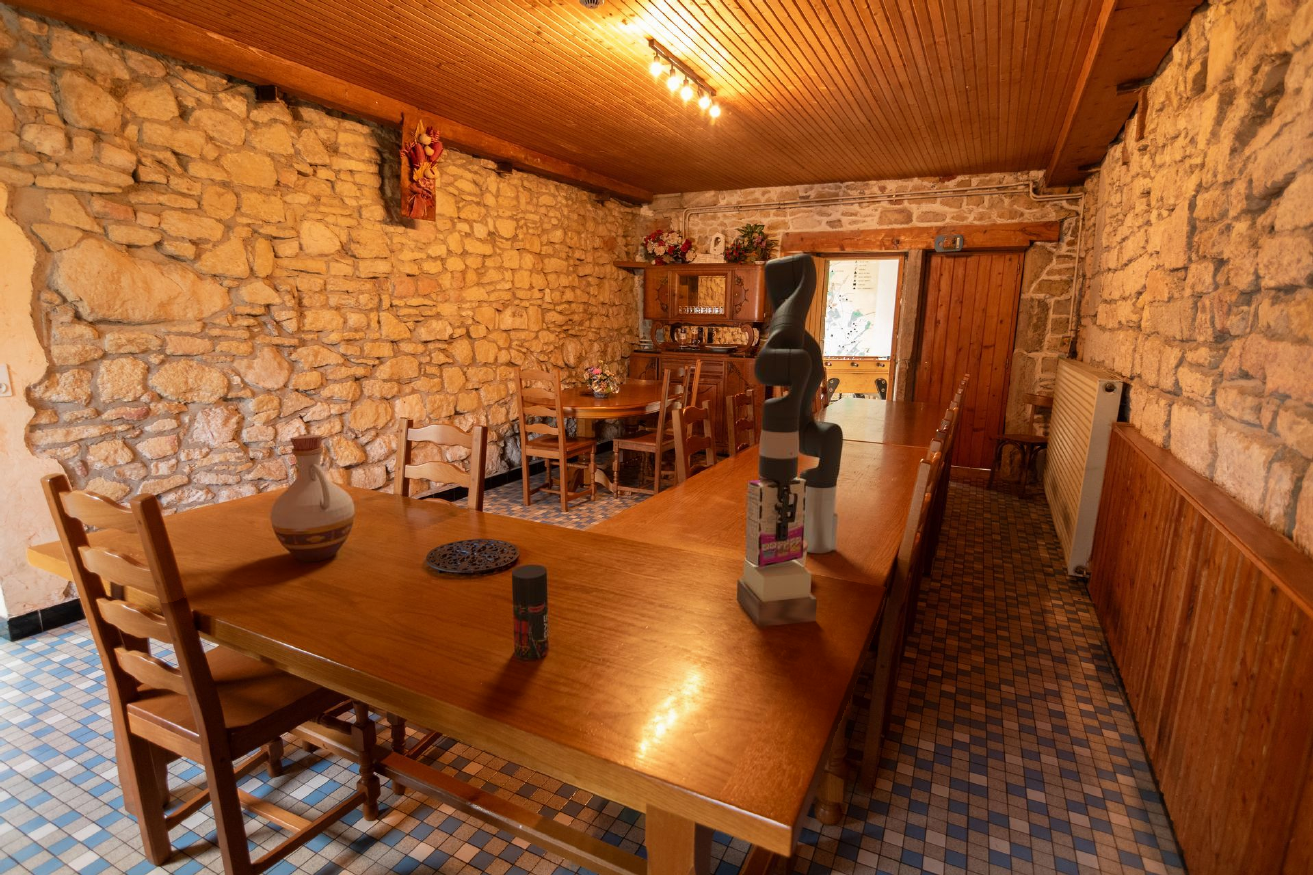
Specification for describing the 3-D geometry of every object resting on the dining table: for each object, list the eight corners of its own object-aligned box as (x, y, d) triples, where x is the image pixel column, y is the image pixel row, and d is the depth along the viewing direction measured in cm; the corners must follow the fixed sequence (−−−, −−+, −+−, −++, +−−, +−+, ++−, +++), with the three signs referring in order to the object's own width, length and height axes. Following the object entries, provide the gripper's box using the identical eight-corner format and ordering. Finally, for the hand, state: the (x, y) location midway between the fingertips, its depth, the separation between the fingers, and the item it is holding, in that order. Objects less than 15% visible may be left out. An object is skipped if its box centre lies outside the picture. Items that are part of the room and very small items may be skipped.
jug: (372, 557, 150) (363, 436, 145) (291, 578, 137) (278, 447, 132) (341, 537, 163) (332, 426, 158) (265, 555, 150) (251, 435, 145)
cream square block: (787, 576, 130) (788, 554, 129) (810, 596, 121) (811, 572, 120) (743, 580, 128) (744, 558, 127) (762, 601, 118) (764, 577, 117)
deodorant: (516, 643, 111) (514, 564, 108) (550, 642, 111) (548, 564, 109) (512, 661, 105) (509, 578, 102) (547, 659, 105) (545, 577, 103)
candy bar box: (787, 550, 128) (791, 474, 125) (803, 558, 124) (808, 479, 120) (743, 559, 123) (746, 479, 120) (758, 568, 118) (761, 486, 115)
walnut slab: (789, 596, 132) (790, 574, 131) (815, 622, 121) (817, 598, 120) (736, 601, 130) (737, 579, 129) (758, 628, 118) (759, 604, 117)
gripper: (813, 460, 113) (808, 546, 116) (781, 444, 127) (777, 522, 130) (775, 461, 111) (771, 549, 115) (747, 446, 125) (744, 524, 128)
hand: (774, 534), depth 122 cm, fingers closed on candy bar box, 5 cm apart
